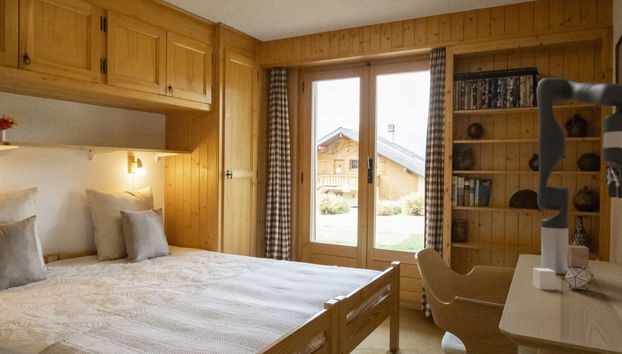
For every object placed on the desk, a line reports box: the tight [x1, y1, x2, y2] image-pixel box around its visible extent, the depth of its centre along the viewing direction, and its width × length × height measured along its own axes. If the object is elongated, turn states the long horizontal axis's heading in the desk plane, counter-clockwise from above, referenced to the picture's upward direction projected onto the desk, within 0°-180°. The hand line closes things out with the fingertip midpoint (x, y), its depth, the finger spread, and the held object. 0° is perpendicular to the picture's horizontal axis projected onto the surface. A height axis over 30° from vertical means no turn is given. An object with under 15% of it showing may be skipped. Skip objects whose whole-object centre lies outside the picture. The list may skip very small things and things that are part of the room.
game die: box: [561, 264, 595, 292], centre depth 142 cm, size 9×8×10 cm
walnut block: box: [567, 244, 590, 268], centre depth 142 cm, size 5×5×6 cm
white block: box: [532, 267, 557, 291], centre depth 144 cm, size 5×5×6 cm
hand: (617, 197), depth 137 cm, fingers open, 8 cm apart
